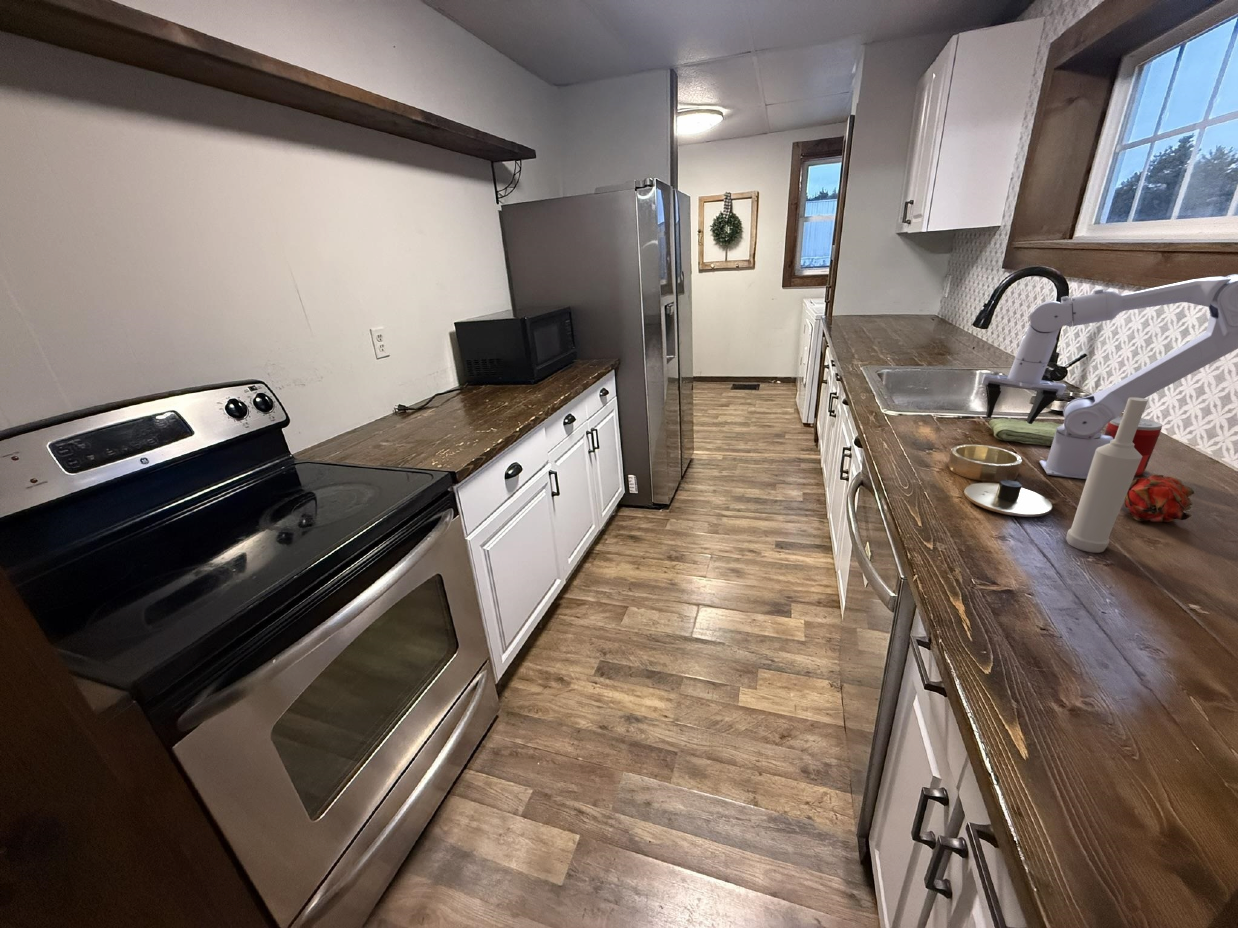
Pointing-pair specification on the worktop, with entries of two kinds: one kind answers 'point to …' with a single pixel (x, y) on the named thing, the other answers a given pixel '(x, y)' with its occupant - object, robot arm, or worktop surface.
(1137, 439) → the canned food
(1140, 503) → the dragon fruit
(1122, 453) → the bottle
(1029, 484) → the worktop surface
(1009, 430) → the washcloth
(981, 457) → the pot
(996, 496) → the lid
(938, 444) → the worktop surface
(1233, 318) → the robot arm
